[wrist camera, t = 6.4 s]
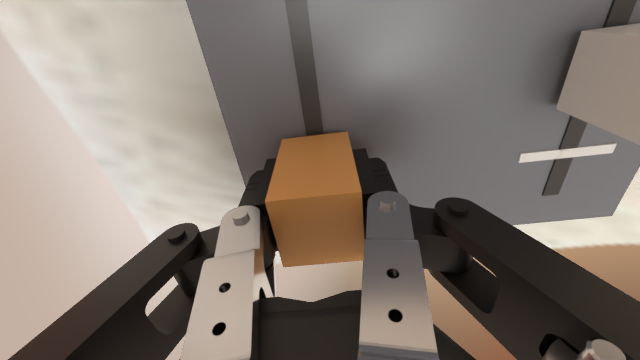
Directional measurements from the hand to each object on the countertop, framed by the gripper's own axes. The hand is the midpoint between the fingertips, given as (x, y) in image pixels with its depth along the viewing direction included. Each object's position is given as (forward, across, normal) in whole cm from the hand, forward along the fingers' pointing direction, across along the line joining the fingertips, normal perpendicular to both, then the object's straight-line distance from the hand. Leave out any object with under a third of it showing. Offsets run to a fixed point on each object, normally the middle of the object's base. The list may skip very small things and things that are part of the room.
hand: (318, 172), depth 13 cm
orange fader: (+1, 0, 0) cm, 1 cm away
